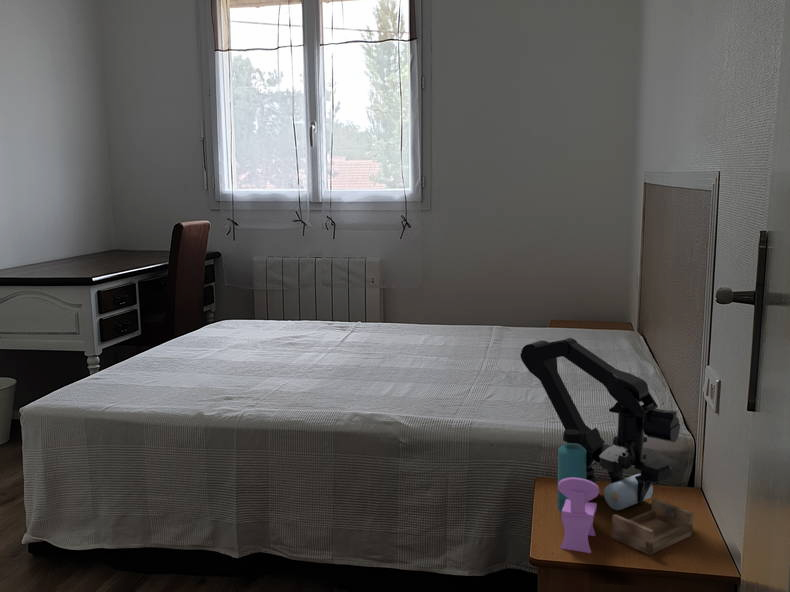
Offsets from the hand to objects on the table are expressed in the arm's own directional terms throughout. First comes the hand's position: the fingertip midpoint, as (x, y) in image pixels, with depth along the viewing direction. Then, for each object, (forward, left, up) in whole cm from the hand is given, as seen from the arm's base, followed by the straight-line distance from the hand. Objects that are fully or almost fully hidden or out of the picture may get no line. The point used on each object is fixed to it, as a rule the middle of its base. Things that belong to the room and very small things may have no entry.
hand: (628, 497), depth 176 cm
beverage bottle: (-4, -15, -2) cm, 16 cm away
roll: (0, 0, -2) cm, 2 cm away
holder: (+13, -9, -2) cm, 16 cm away
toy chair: (+5, -23, -2) cm, 24 cm away
